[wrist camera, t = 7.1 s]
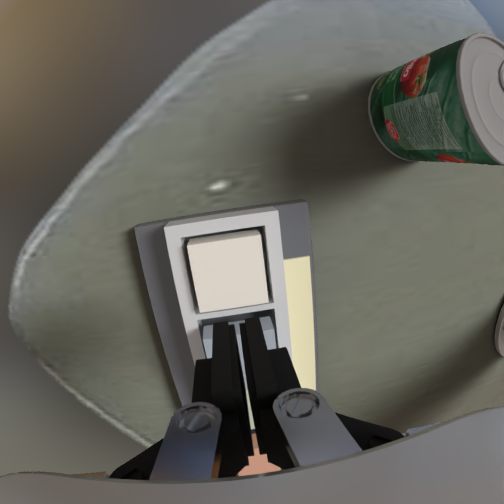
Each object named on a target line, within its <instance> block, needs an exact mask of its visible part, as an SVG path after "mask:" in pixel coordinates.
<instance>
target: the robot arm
mask: <svg viewBox="0 0 504 504" xmlns="http://www.w3.org/2000/svg"><path fill="white" fill-rule="evenodd" d="M244 320H245V323H239V327H240V335H241V343H242V351H243V359H244V366H245V374H246V381H247V388H248V394H249V400H250V405H251V411H252V416H253V422H254V427H255V432H256V438H257V443H258V448H259V453H260V455H263V454H267V459H268V463H272V464H274V465H276V466H278V467H280V469H281V470H280V471H274V472H267V473H260V474H253V475H245V476H239V474H238V473H239V472H240V471H241V470H242V469H243V468H244V467H245V466H249V459H248V457H249V456H254V448H253V441H252V433H251V426H250V419H249V411H248V403H247V396H246V388H245V382H244V376H243V371H242V365H241V359H240V354H239V348H238V342H237V336H236V330H235V325H234V324H231V325H229V323H228V321H225V322H217V323H213V338H212V358H206V359H198V360H196V363H195V372H194V382H193V393H192V403H190V404H187V405H184V406H183V407H181V408H179V409H178V410H177V411H176V412H175V413H174V414H173V416H172V418H171V420H170V423H169V426H168V428H167V431H166V434H165V437H164V438H163V439H162V440H160V441H159V442H157V443H156V444H154V445H153V446H151V447H150V448H148V449H146V450H145V451H144V452H142V453H141V454H139V455H137V456H136V457H134V458H133V459H131V460H129V461H128V462H126V463H125V464H123V465H121V466H120V467H118V468H117V469H116V470H115V471H113V473H112V474H110V475H107V473H106V472H96V473H84V474H63V473H55V472H18V473H10V474H7V475H3V476H0V504H504V406H498V407H492V408H486V409H482V410H478V411H474V412H471V413H467V414H464V415H462V416H459V417H456V418H453V419H450V420H448V421H444V422H440V423H436V424H431V425H426V426H421V427H416V428H411V429H407V432H406V433H402V434H401V433H400V432H398V431H396V430H393V429H390V428H386V427H382V426H379V425H375V424H371V423H368V422H364V421H361V420H358V419H354V418H351V417H348V416H344V415H341V414H338V413H335V412H334V411H333V410H332V408H331V407H330V405H329V404H328V403H327V401H326V400H325V398H324V397H323V396H322V395H321V394H320V393H319V392H317V391H315V390H313V389H308V388H301V385H300V383H299V380H298V377H297V374H296V372H295V369H294V366H293V363H292V361H291V358H290V355H289V352H288V350H287V347H282V348H276V349H270V350H268V349H267V345H266V341H265V337H264V334H263V330H262V326H261V322H260V318H259V317H252V318H246V319H244ZM495 348H496V350H497V352H498V353H500V354H501V355H502V356H503V357H504V304H503V306H502V308H501V311H500V314H499V317H498V320H497V324H496V329H495Z"/></svg>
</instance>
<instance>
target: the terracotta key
mask: <svg viewBox="0 0 504 504" xmlns="http://www.w3.org/2000/svg"><path fill="white" fill-rule="evenodd" d="M252 441H253V448H254V456H249V457H248V459H249V466H245V467H244V468H243V469H242V470H241V471H240V472H239V476H245V475H253V474H260V473H267V472H274V471H280V470H281V469H280V467H278V466H276V465H274V464H272V463H268V459H267V454H263V455H260V453H259V448H258V443H257V438H256V433H254V434H252Z"/></svg>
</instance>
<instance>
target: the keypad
mask: <svg viewBox="0 0 504 504" xmlns="http://www.w3.org/2000/svg"><path fill="white" fill-rule="evenodd" d="M134 229H135V235H136V240H137V244H138V249H139V254H140V259H141V263H142V268H143V272H144V276H145V280H146V285H147V289H148V293H149V297H150V301H151V305H152V309H153V312H154V316H155V320H156V323H157V327H158V331H159V334H160V338H161V341H162V345H163V348H164V351H165V355H166V358H167V361H168V364H169V368H170V371H171V374H172V377H173V380H174V383H175V386H176V389H177V392H178V395H179V398H180V401H181V404H182V407H183V406H184V405H187V404H190V403H192V393H193V382H194V372H195V363H196V360H198V359H206V358H207V356H206V352H205V347H204V343H203V329H204V326H207V325H213V323H217V322H225V321H228V322H235V321H242V320H244V319H246V318H252V317H259V318H261V317H267V316H270V318H271V321H272V324H273V327H274V332H275V341H276V348H282V347H287V350H288V352H289V355H290V358H291V361H292V363H293V366H294V369H295V372H296V374H297V377H298V380H299V383H300V385H301V388H308V389H313V390H315V391H317V392H319V384H318V343H317V318H316V298H315V281H314V265H313V251H312V239H311V227H310V215H309V204H308V201H305V200H294V201H286V202H278V203H271V204H263V205H256V206H249V207H241V208H234V209H227V210H221V211H214V212H207V213H201V214H194V215H188V216H182V217H176V218H170V219H164V220H158V221H152V222H146V223H140V224H138V225H137V226H136V227H134ZM253 229H257V230H258V231H259V233H260V234H261V241H262V250H263V258H264V266H265V274H266V283H267V291H268V300H269V303H262V304H256V305H250V306H243V307H237V308H230V309H223V310H216V311H209V312H202V313H200V311H199V306H198V301H197V296H196V291H195V286H194V281H193V276H192V271H191V265H190V260H189V255H188V249H187V244H188V242H189V239H193V238H200V237H206V236H213V235H219V234H226V233H233V232H240V231H247V230H253ZM251 433H252V434H254V433H256V432H255V428H251Z"/></svg>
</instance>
